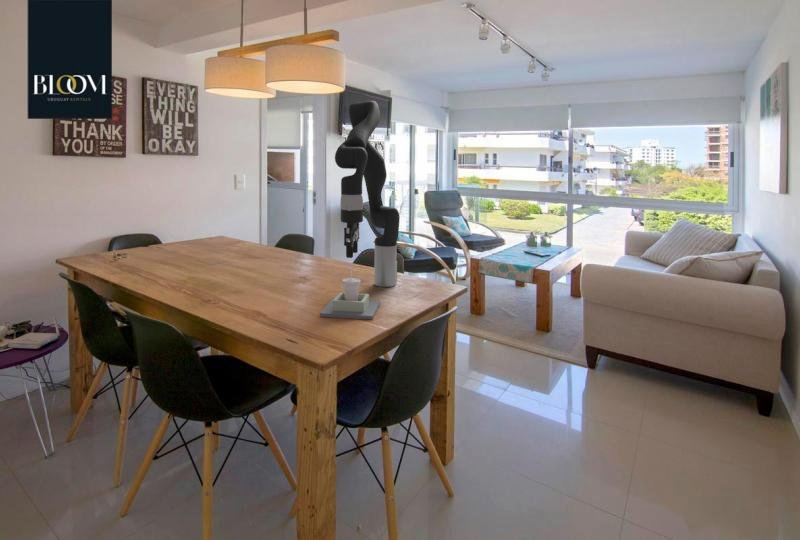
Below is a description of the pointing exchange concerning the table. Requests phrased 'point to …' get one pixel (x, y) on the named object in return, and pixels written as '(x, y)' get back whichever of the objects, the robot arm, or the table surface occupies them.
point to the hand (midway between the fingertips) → (352, 255)
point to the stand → (351, 307)
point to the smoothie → (351, 288)
